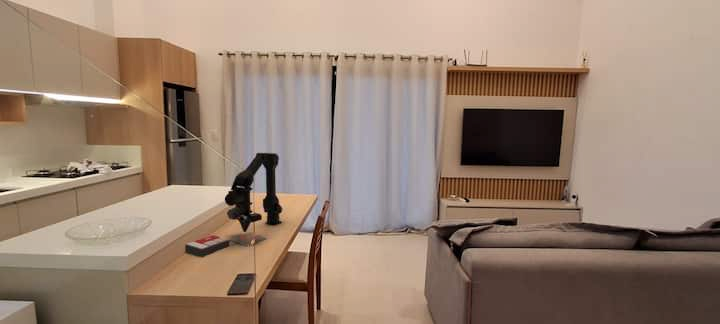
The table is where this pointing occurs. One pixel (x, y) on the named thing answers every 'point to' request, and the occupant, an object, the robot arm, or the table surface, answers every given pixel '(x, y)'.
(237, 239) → the mat
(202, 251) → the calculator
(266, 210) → the robot arm
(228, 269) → the table surface
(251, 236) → the block
